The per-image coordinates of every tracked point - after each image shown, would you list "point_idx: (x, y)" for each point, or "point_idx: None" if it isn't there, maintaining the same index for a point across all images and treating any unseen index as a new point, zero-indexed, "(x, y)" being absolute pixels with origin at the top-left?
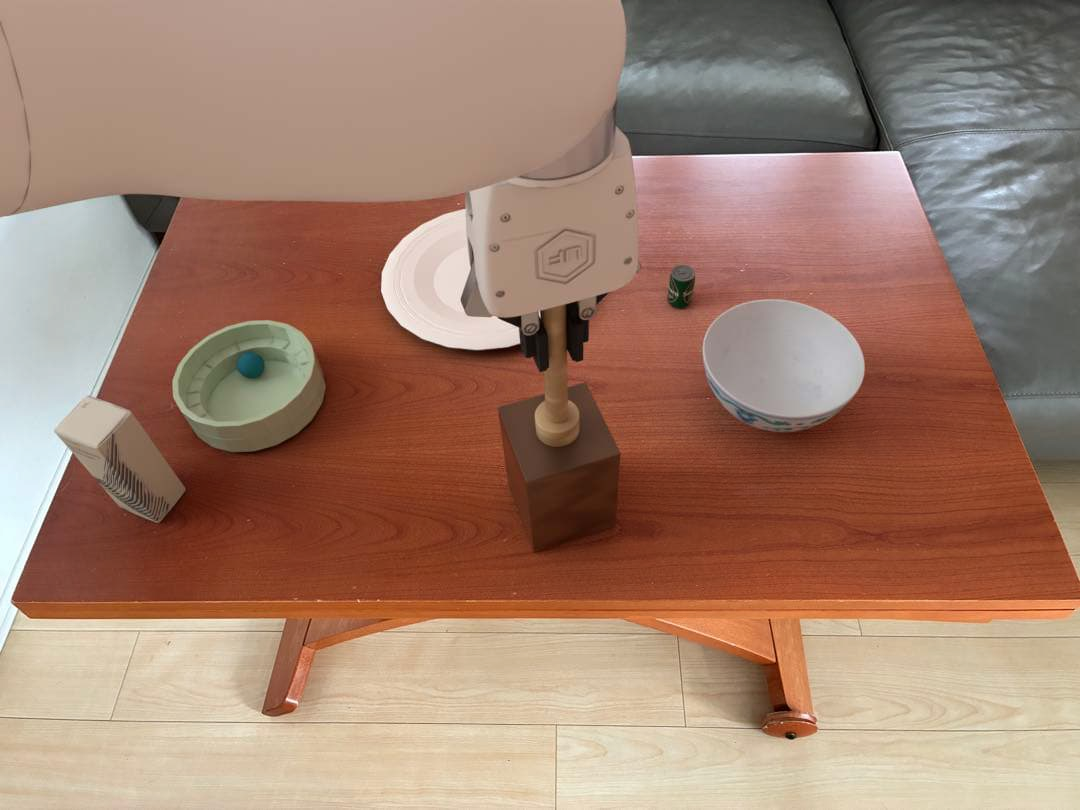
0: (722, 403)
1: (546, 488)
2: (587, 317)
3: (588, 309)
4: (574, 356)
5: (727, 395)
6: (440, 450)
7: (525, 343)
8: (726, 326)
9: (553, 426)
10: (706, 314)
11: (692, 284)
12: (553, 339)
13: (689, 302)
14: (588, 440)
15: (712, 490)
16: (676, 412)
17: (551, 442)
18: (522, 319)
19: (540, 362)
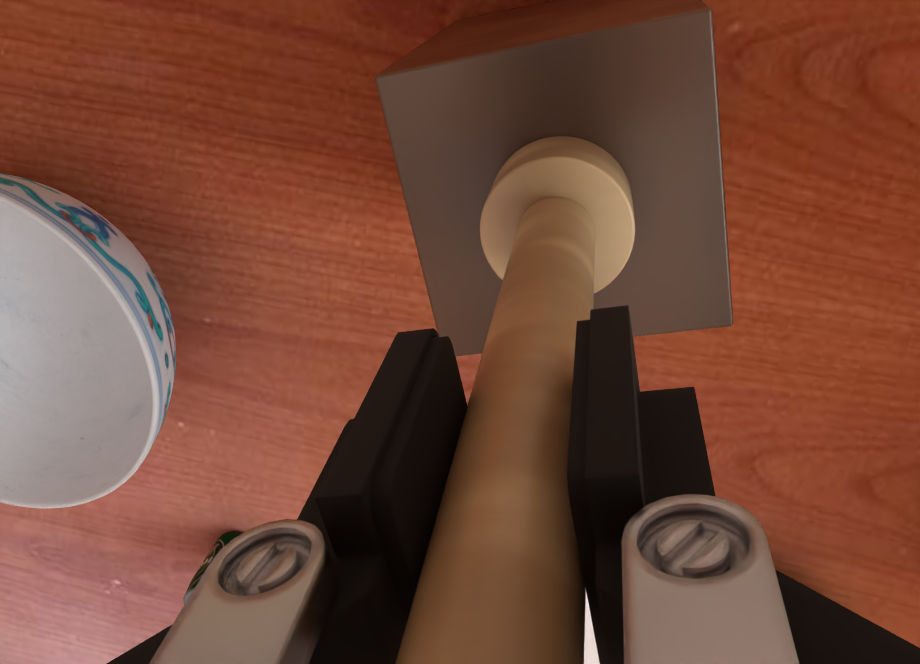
0: (144, 273)
1: (635, 13)
2: (282, 534)
3: (250, 587)
4: (435, 351)
5: (108, 274)
6: (833, 309)
7: (706, 459)
8: (115, 462)
9: (577, 187)
10: (191, 508)
11: (195, 577)
12: (528, 451)
13: (218, 540)
14: (469, 144)
15: (220, 85)
16: (276, 299)
17: (592, 149)
18: (782, 637)
19: (625, 340)
